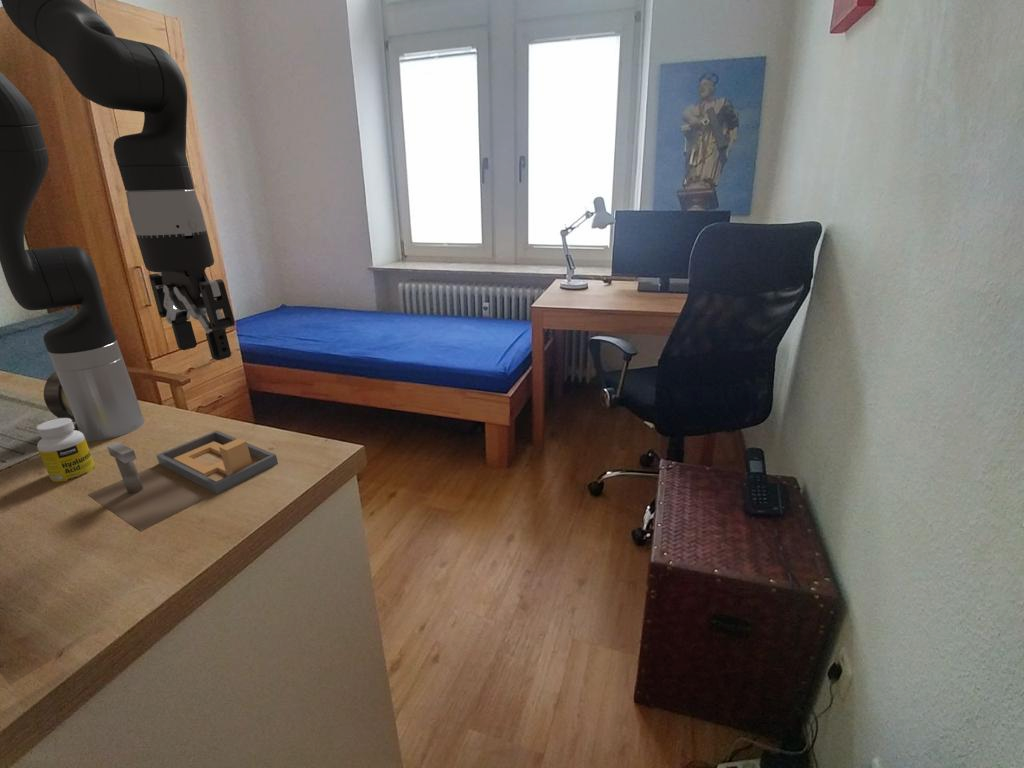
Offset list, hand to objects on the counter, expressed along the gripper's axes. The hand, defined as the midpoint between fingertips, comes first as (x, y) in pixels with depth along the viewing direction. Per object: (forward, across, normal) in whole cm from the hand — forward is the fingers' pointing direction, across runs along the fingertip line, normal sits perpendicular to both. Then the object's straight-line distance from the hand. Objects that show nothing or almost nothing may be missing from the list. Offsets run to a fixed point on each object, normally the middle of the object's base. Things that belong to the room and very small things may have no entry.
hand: (204, 353), depth 68 cm
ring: (+20, -5, 0) cm, 20 cm away
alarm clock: (+21, -45, -3) cm, 49 cm away
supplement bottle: (+21, -23, -13) cm, 33 cm away
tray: (+20, -5, 0) cm, 21 cm away
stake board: (+20, -5, -10) cm, 23 cm away
